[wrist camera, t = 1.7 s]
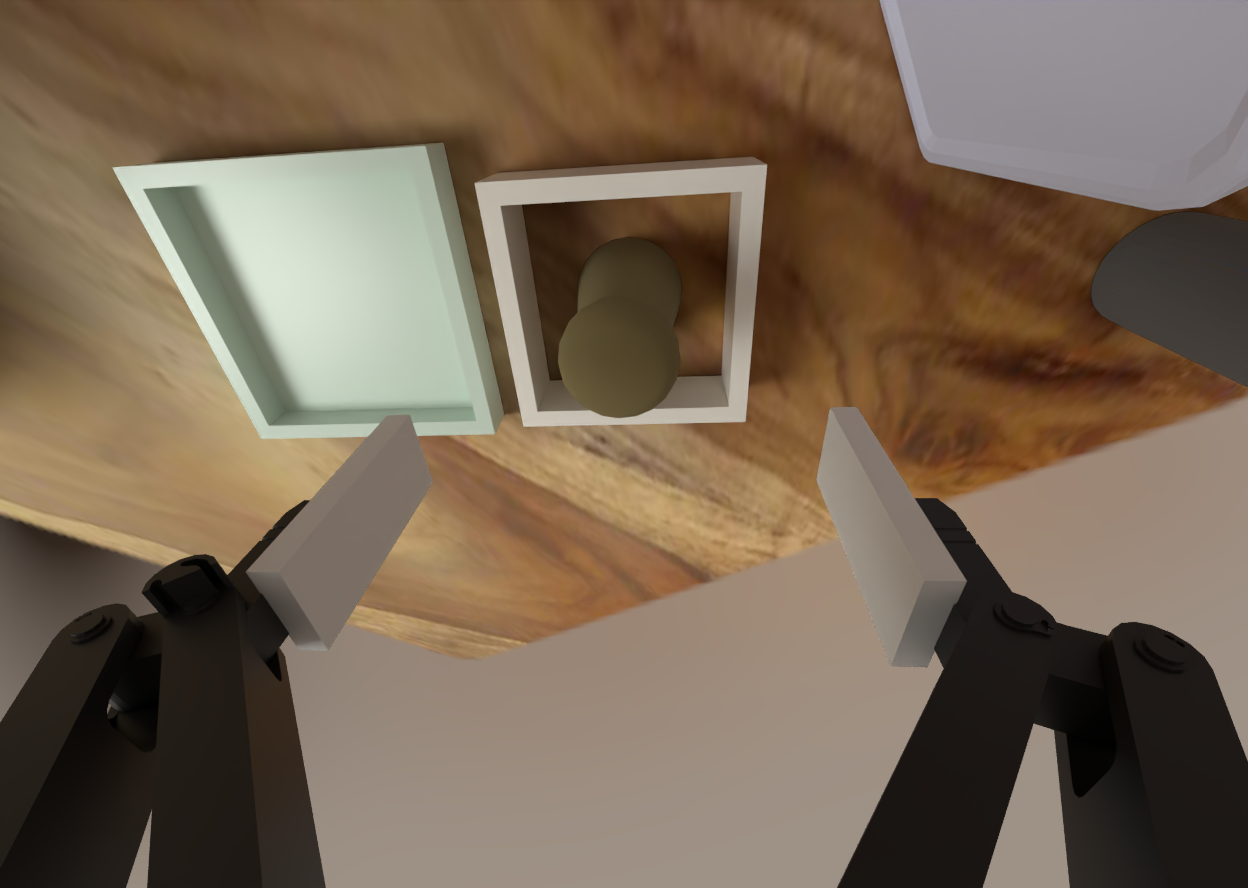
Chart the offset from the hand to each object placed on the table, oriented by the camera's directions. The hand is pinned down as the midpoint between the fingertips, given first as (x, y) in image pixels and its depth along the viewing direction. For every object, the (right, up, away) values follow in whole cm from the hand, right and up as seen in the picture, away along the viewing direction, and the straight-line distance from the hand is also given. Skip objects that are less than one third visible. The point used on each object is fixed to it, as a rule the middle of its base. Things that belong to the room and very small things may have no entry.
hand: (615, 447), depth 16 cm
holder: (+1, +9, +13) cm, 16 cm away
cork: (+1, +9, +13) cm, 16 cm away
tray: (-16, +9, +14) cm, 23 cm away
